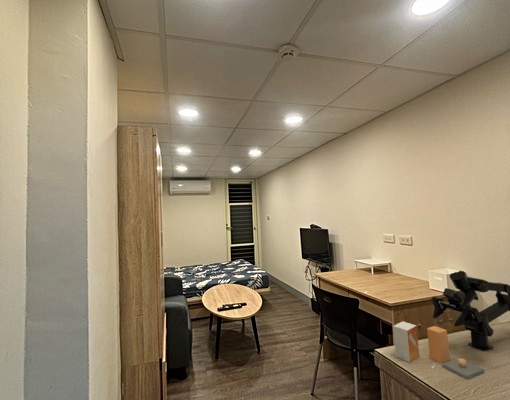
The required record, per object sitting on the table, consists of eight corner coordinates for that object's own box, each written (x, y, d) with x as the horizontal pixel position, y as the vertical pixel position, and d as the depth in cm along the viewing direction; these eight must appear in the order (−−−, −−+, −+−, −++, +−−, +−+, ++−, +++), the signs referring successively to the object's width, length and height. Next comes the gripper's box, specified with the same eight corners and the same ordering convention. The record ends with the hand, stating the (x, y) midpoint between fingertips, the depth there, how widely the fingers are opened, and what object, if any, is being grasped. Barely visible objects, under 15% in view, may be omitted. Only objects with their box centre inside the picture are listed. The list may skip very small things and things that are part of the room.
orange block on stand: (438, 354, 115) (435, 325, 115) (449, 360, 110) (446, 330, 111) (429, 357, 113) (427, 328, 114) (441, 363, 108) (438, 332, 109)
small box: (410, 362, 110) (407, 330, 110) (395, 356, 115) (392, 325, 116) (419, 356, 114) (417, 325, 115) (404, 350, 119) (402, 320, 120)
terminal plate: (459, 360, 109) (458, 351, 109) (484, 372, 101) (483, 362, 101) (442, 367, 105) (441, 357, 106) (467, 379, 97) (466, 368, 97)
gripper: (435, 279, 126) (415, 300, 121) (479, 288, 109) (458, 313, 104) (445, 297, 128) (426, 319, 123) (490, 310, 110) (470, 336, 105)
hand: (443, 321), depth 114 cm, fingers open, 9 cm apart
